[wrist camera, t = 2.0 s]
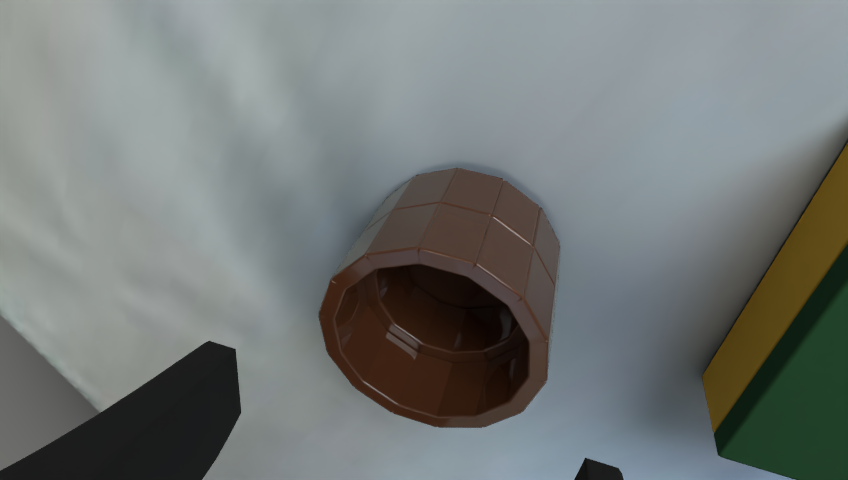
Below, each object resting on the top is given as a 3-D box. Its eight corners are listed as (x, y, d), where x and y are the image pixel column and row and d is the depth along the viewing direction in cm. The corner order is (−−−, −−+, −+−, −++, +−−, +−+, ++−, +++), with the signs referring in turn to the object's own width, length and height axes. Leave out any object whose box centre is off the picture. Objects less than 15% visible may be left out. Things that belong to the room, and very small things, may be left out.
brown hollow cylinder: (536, 336, 18) (518, 454, 14) (371, 290, 19) (315, 389, 15) (586, 189, 15) (582, 291, 11) (387, 141, 16) (320, 220, 12)
